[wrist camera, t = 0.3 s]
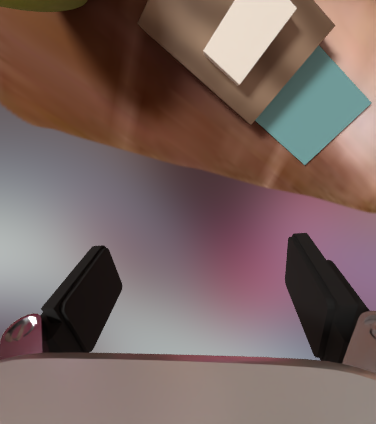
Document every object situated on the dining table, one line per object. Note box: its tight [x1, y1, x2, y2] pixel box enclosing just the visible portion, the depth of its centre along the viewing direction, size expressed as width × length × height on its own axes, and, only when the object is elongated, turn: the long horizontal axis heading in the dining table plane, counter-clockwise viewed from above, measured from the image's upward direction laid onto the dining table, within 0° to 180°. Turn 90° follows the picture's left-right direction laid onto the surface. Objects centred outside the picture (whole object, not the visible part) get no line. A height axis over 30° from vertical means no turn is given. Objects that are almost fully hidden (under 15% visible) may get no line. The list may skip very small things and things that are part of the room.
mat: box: [255, 45, 371, 165], centre depth 33 cm, size 12×12×1 cm
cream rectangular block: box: [203, 0, 297, 86], centre depth 26 cm, size 9×6×2 cm, turn 143°
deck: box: [137, 0, 335, 125], centre depth 28 cm, size 14×20×4 cm
